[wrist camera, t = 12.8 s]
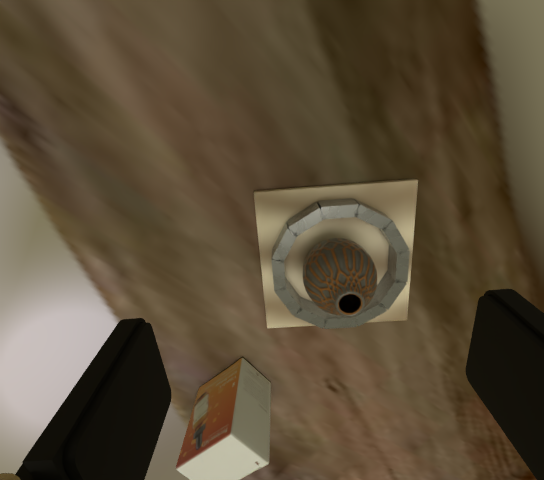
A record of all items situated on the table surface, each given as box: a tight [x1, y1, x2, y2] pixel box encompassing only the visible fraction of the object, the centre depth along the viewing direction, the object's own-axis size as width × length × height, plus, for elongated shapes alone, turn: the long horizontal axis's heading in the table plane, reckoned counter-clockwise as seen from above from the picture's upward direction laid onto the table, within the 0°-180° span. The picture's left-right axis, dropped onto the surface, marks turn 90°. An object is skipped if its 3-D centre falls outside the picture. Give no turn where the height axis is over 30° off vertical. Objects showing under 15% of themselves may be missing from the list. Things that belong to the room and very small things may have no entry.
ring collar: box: [272, 198, 410, 329], centre depth 33 cm, size 13×13×2 cm
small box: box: [176, 358, 271, 480], centre depth 37 cm, size 8×6×10 cm
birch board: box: [254, 179, 418, 328], centre depth 35 cm, size 16×16×1 cm
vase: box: [303, 238, 377, 317], centre depth 30 cm, size 7×7×9 cm
